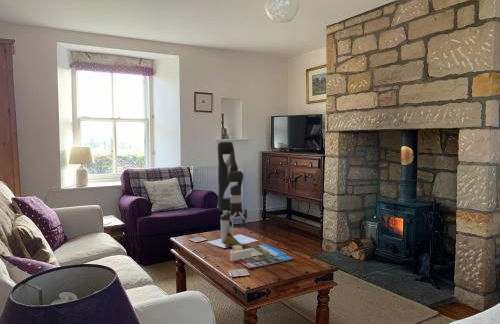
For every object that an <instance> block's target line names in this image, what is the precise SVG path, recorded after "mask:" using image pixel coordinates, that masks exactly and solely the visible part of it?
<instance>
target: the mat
mask: <svg viewBox="0 0 500 324" xmlns="http://www.w3.org/2000/svg"><path fill="white" fill-rule="evenodd" d="M246 249H251V255H252V256H256V257H259V256H258V255H261V256H263V255H264V254H263V253H261V252H260V251H259V250H257V249H256V248H254V247H247V248H244V249H243V250H246ZM252 256H251V257H252Z"/></svg>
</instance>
